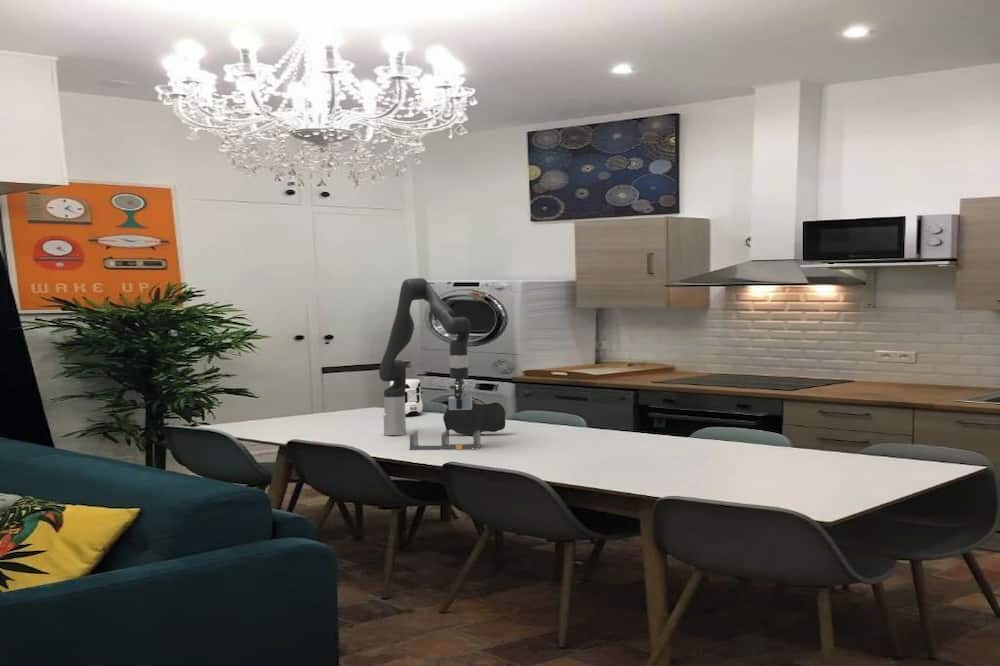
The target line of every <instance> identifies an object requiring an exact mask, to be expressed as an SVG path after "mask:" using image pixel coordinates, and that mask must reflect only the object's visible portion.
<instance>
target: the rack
mask: <svg viewBox="0 0 1000 666" xmlns="http://www.w3.org/2000/svg"><path fill="white" fill-rule="evenodd" d="M472 437H473V443H464V444H463V443H460V444H459V443H457V444H456V443H455V444H454V443H453V444H452V443H450V430H449V431H447V430H444V431H443V432H442V433H441V445H419V430H413V432H411V433H410V434H409V451H413V450H414V451H422V450H423V451H424V450H425V451H428V450H429V451H431V450H433V451H434V450H440V449H445V450H456V449H462V450H477V449H476V448H478V449H479V447H480V446H481V433H480V430H476V431H475V433H474V434H473V435H472ZM479 445H480V446H479ZM478 446H479V447H478ZM472 448H474V449H472ZM440 451H441V450H440Z"/></svg>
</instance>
